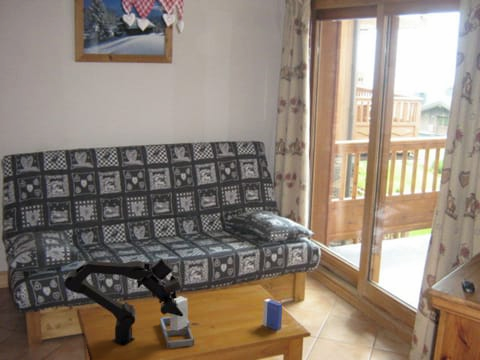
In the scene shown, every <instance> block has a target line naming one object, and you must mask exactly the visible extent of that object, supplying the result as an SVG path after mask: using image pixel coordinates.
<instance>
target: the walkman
mask: <svg viewBox="0 0 480 360" xmlns="http://www.w3.org/2000/svg"><path fill="white" fill-rule="evenodd" d="M262 311H263V312H262V326H263V327H267V328H269V329H272V330H275V331H279V330H281V329H282V319H283V303H282V302H280V301H276V300H273V299H270V298H266V299H264V300H263V310H262Z"/></svg>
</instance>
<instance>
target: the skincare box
mask: <svg viewBox="0 0 480 360" xmlns="http://www.w3.org/2000/svg"><path fill="white" fill-rule="evenodd" d="M174 300H176V306H177V307H178V308H179V309H180V311H181V312H182V313H183V316H182V317H181V316H177V315H174V314H170V313H169V317H170V324H169V327H170V328H169V329H175V330H177V331H178V330H180V329H181V328H185V326H187V318H188V307H189V305H188V302H189V301H188V298H186V297H184V296H181V295H179V296H177V298H175V299H174Z"/></svg>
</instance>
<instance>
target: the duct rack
mask: <svg viewBox="0 0 480 360" xmlns="http://www.w3.org/2000/svg"><path fill="white" fill-rule="evenodd" d="M159 322H160V323H159V325H160V328H161V330H162V335H163V338H164V340H165V343H166V344H165V345H166V347H167V349H173V348H175V349H176V348H182V347H192V346H195V338H194V336H193V333H192V331H191V329H190V327H191V326H190V321H189V319H188V317H187V326H185V327H183V328H181V329H180V330H178V331H177V330H175V329H172V328H168V329H167V328H166V326H167V325H168V326H169V325H170V316H164V317H160V318H159ZM180 335H187V337H188V339H180V340H179V339H178V340H170V339H169V337H171V336H180Z"/></svg>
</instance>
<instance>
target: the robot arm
mask: <svg viewBox="0 0 480 360" xmlns="http://www.w3.org/2000/svg"><path fill="white" fill-rule="evenodd" d="M173 271H174V267H173V265H172V263H170V262H169V260H166V259H164V258H162V257H161V258H160V259H158V261H157V262H155V263H154V264H153V263H152V264H151V263H145V262H143V261H141V260H132V261H131V260H130V261H128V262H110V261H108V262H107V261H94V260H87V261H86V262H85V263H84V264H82V265H80V266H78V268H76V269H74V270H71V271H69V272H68V273H67V275H66V277H65V279H64V288H66V289H67V290H68V291H71V292H73V293H75V294H82V295H84V296H85V297H87V298H88V299H90V300H91V301H92V302H95V303H96V304H98V305H99V306H100V307H102V308H104V309H105V310H107V311H108V312H110V313H112V315H113V316H114V318H115V319H116V320H115V321H116V322H115V326H114V338H113V339H112V340H111V341H112V342H113V343H116V344H117V345H121V346H126V345H128V344H130V343H132V342H134V341H135V338H134V337H133V325H134V324H135V322H136V316H137V311H136V309H135V308H134V305H132V304H130V303H129V302H127V301H124V303H120V302H118V301H116V300H115V299H113V298H112V297H110V296H109V295H107V294H106V293H105V292H103V291H101V290H100V289H98V288H97V287H95V286H94V285H92V284H91V283H90V282H89V280H87V277H89V276H90V275H91V274H99V275H100V274H101V275H114V276H115V275H116V276H123V277H125V278H127V279H131V280H136V283H137V286H136V287H137V289H138V288H140V287H141V286H143V287H144V288H145V289H146V290H147V291H149V292H150V294H151V296H152V297H153V298H154V297H155V298H156V299H158V303H159V304H160V313H161V314H163V315H164V316H165V315H167V314H169V315H170V314H174V315H177V316H181V317H182V316H183V313H182V312H181V311H180V309H179V308H178V307H177V306H176V300H174V299H175V298H177V297H178V296H177V291H178V290H181V289H182V288H183V287H182V283H181V282H182V281H181V280H180V277H178V276H176V275H174V274H172V275H170V274H171V273H172V272H173ZM168 275H170V277H169V280H167V282H165V281H164V279H165V278H166V277H168Z"/></svg>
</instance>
